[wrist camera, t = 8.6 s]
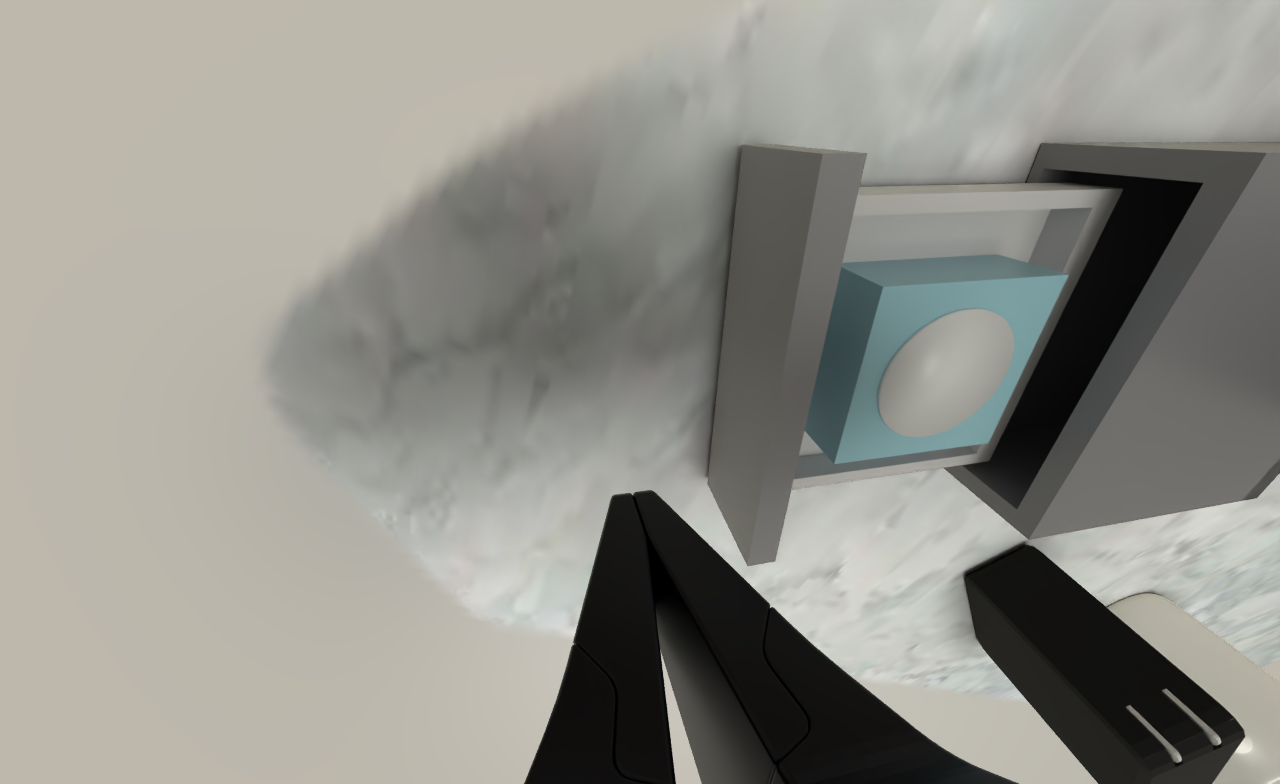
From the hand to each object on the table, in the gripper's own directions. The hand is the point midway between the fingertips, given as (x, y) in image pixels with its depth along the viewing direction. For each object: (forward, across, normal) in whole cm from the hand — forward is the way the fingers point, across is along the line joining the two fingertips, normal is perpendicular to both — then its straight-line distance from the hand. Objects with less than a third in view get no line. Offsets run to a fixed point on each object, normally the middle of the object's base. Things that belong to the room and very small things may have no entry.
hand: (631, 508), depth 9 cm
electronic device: (+8, -26, +20) cm, 33 cm away
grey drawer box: (+7, -20, 0) cm, 21 cm away
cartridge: (+6, -10, 0) cm, 12 cm away
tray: (+7, -11, 0) cm, 13 cm away
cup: (+8, -38, +26) cm, 47 cm away
